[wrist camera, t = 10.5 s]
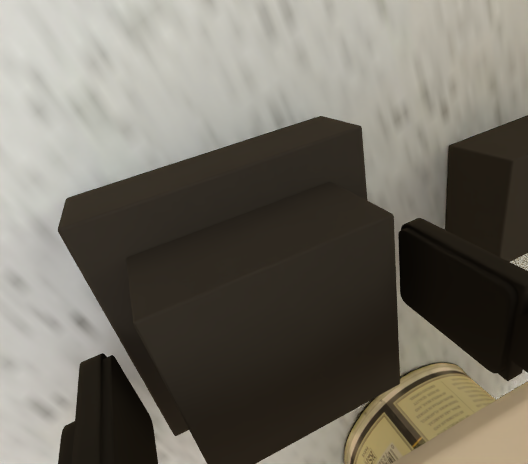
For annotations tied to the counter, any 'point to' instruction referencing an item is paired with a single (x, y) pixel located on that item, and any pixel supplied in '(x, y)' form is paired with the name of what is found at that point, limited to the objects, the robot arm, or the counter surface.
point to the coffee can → (414, 413)
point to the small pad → (491, 190)
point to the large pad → (197, 213)
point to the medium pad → (272, 320)
